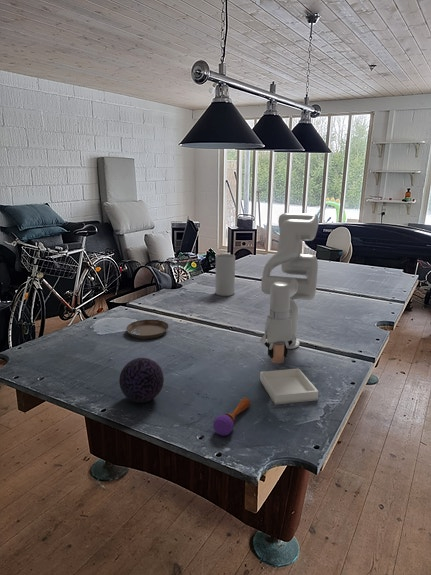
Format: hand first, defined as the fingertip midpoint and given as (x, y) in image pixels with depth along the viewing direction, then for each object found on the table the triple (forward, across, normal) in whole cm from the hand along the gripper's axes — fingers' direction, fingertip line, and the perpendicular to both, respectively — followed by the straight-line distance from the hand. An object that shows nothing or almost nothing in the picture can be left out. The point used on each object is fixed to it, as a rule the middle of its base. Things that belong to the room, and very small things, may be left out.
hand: (277, 356), depth 164 cm
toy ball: (+5, +54, +13) cm, 55 cm away
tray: (+6, +2, +16) cm, 17 cm away
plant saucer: (+7, +50, -50) cm, 71 cm away
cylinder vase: (+10, -2, -110) cm, 110 cm away
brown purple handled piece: (+5, +26, +32) cm, 41 cm away
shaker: (+2, 0, 0) cm, 2 cm away
